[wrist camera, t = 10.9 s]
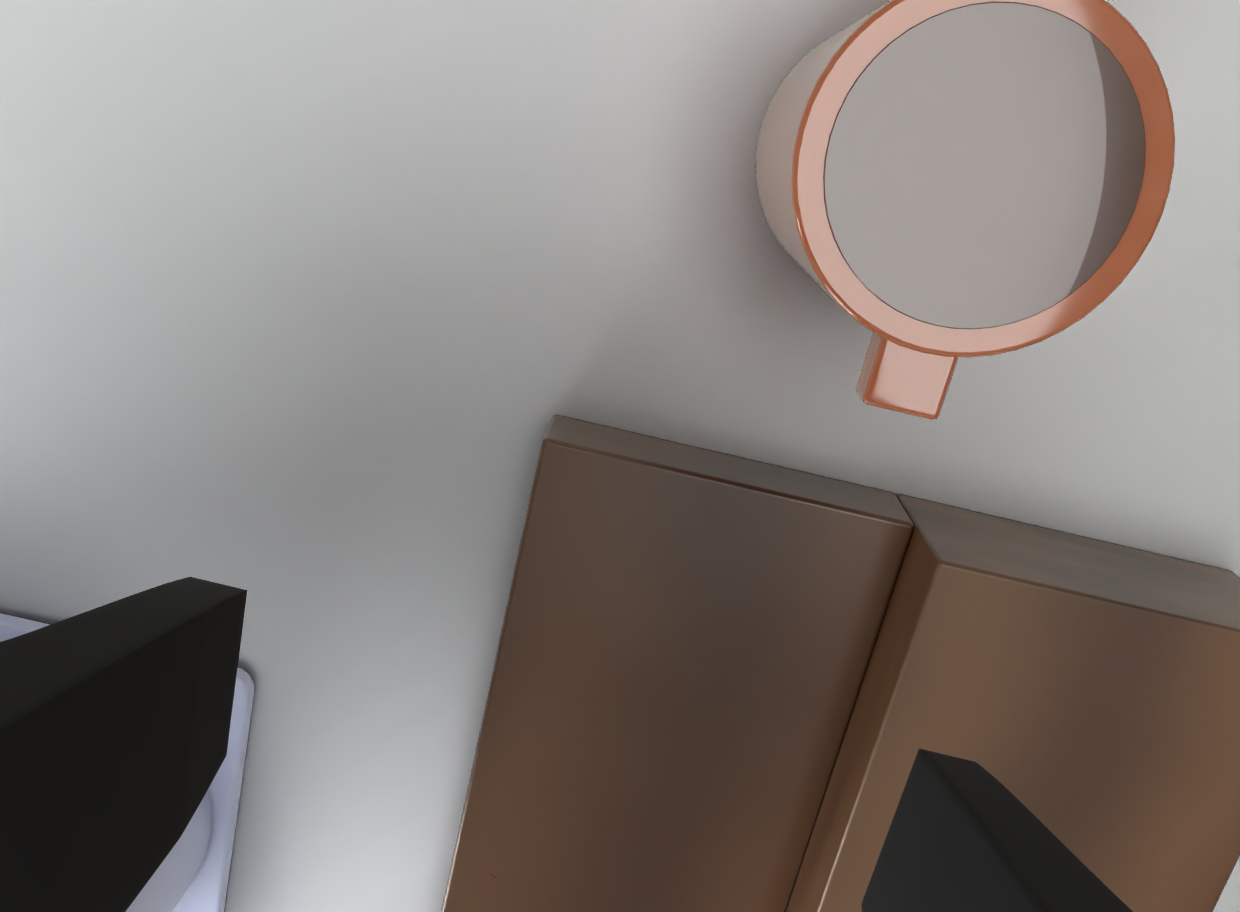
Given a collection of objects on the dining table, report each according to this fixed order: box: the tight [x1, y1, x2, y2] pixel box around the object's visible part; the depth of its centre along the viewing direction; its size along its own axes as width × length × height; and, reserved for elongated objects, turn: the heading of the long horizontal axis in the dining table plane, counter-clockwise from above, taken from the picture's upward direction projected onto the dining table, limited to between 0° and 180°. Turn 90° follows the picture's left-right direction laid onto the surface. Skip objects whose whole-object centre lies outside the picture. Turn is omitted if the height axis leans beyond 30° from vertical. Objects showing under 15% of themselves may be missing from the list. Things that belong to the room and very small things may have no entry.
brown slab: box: [441, 415, 1240, 912], centre depth 22 cm, size 14×16×4 cm
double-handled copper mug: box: [755, 0, 1175, 420], centre depth 16 cm, size 5×7×6 cm, turn 167°
